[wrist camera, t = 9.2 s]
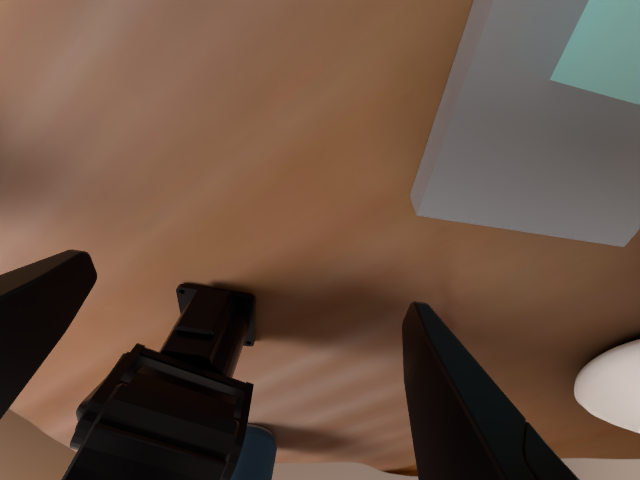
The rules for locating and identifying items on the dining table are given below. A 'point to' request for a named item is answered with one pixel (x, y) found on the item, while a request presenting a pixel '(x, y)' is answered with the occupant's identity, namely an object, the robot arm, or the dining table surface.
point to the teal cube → (604, 51)
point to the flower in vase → (612, 386)
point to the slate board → (529, 134)
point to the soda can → (256, 455)
